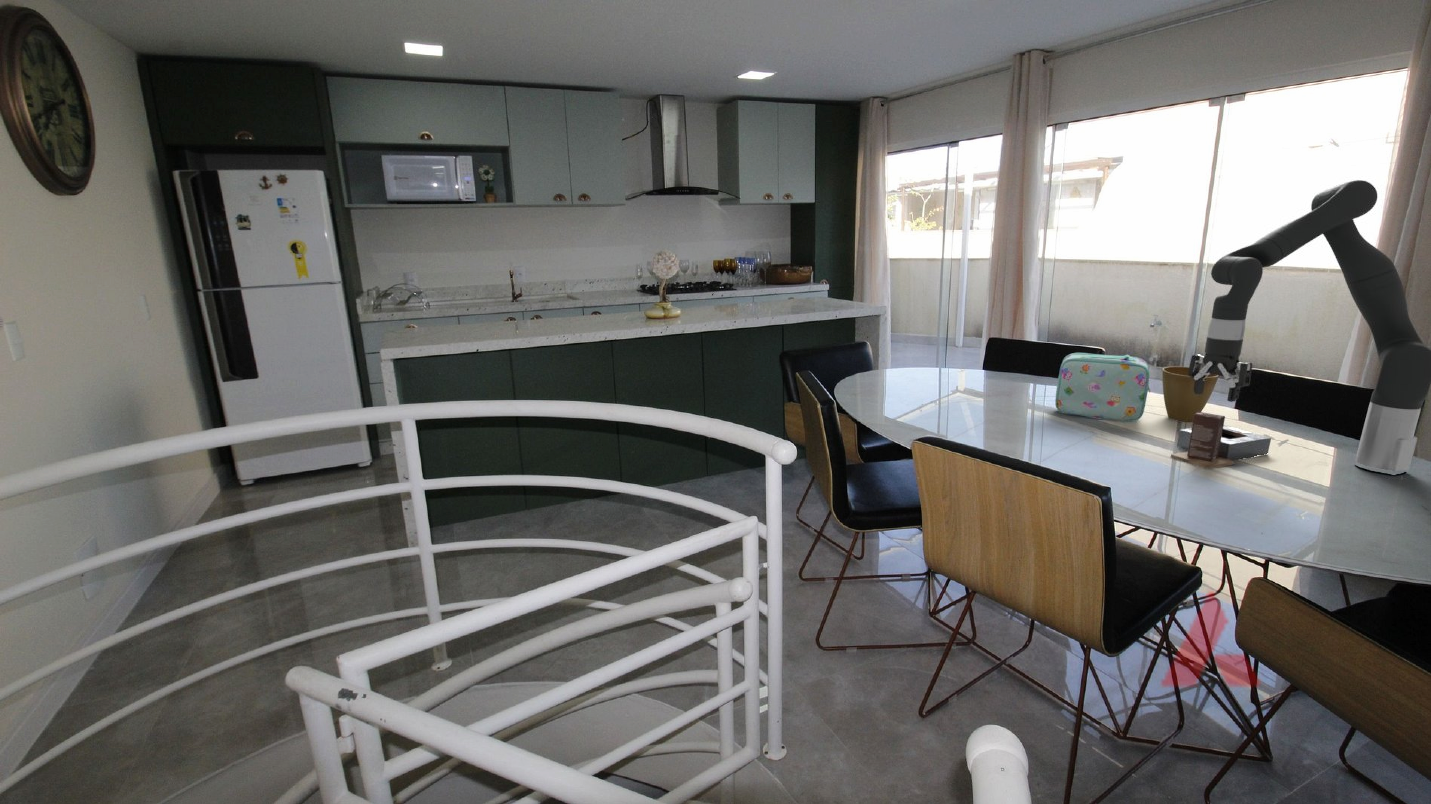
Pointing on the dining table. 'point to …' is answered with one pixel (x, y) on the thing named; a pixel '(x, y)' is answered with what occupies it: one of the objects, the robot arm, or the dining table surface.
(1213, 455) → the box
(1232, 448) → the breaker guard
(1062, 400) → the lunch box
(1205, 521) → the dining table surface
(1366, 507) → the dining table surface
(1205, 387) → the plant pot
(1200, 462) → the walnut pad
